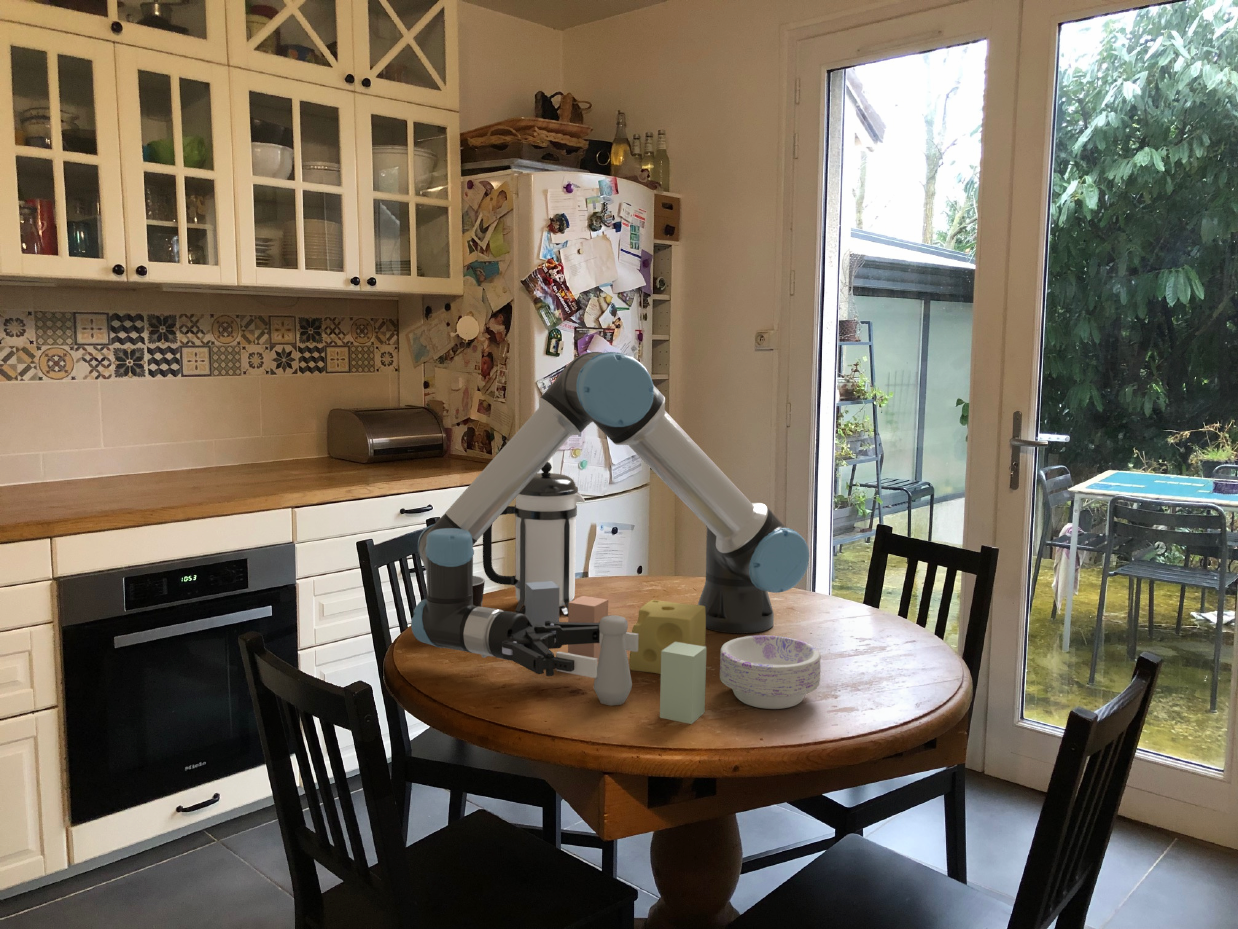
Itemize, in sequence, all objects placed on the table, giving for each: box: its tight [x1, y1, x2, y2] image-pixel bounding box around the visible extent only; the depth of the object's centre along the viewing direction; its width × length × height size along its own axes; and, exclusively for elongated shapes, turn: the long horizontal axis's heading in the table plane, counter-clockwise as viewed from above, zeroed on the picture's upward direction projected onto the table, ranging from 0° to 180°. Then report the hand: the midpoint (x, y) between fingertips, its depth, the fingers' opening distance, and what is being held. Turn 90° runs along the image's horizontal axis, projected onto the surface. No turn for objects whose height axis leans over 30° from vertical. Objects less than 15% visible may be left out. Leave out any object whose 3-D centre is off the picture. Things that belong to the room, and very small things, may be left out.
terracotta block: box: [567, 595, 609, 663], centre depth 167 cm, size 5×5×10 cm
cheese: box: [628, 599, 707, 675], centre depth 164 cm, size 10×11×10 cm
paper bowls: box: [719, 634, 822, 710], centre depth 149 cm, size 15×15×8 cm
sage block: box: [659, 642, 707, 725], centre depth 142 cm, size 5×5×10 cm
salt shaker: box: [593, 614, 633, 706], centre depth 147 cm, size 6×6×13 cm
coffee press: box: [482, 461, 586, 616], centre depth 195 cm, size 17×16×30 cm
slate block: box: [525, 581, 560, 642], centre depth 177 cm, size 5×5×10 cm
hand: (617, 655), depth 146 cm, fingers open, 13 cm apart
